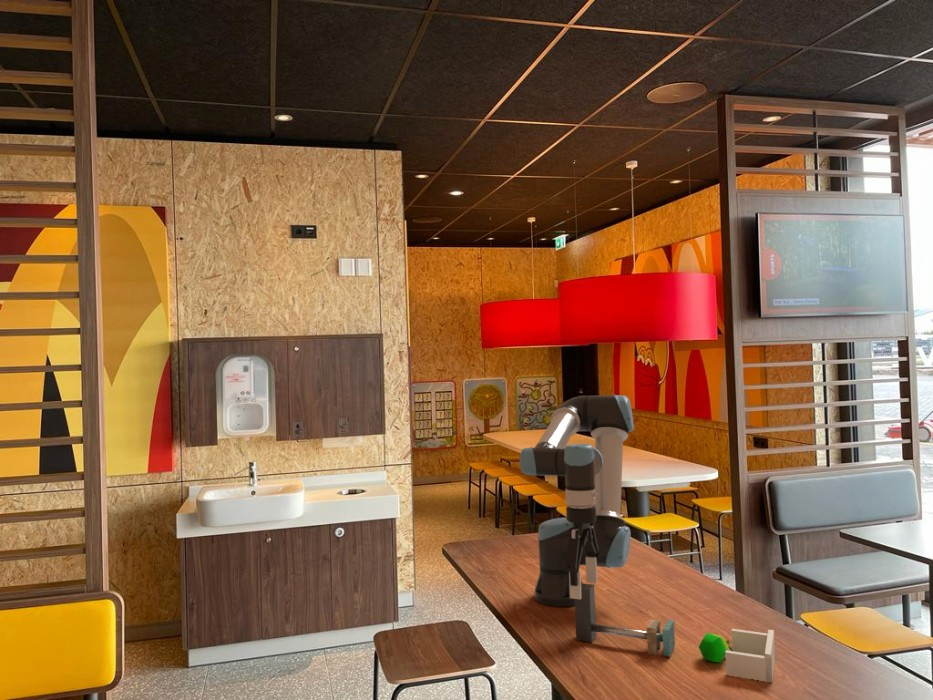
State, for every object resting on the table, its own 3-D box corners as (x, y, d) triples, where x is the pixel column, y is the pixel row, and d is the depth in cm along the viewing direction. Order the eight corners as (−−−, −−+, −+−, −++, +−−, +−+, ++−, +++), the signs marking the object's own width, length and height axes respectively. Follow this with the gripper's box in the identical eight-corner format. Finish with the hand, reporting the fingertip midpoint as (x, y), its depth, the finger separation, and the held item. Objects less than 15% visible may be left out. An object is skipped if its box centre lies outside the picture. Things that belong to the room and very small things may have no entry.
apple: (704, 631, 152) (728, 621, 157) (687, 643, 156) (711, 633, 161) (723, 662, 148) (747, 651, 153) (706, 673, 152) (730, 662, 157)
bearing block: (647, 653, 158) (646, 627, 158) (652, 644, 163) (651, 619, 163) (656, 655, 157) (655, 628, 157) (661, 646, 162) (660, 620, 162)
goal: (726, 675, 146) (725, 647, 146) (732, 649, 159) (731, 624, 159) (772, 683, 142) (770, 654, 142) (775, 656, 155) (773, 630, 155)
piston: (574, 642, 166) (572, 589, 166) (582, 631, 172) (580, 581, 172) (669, 657, 155) (667, 601, 155) (675, 646, 161) (672, 592, 162)
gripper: (580, 516, 156) (583, 607, 155) (608, 498, 178) (611, 578, 177) (550, 514, 159) (553, 603, 159) (581, 496, 182) (584, 574, 181)
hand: (584, 590), depth 168 cm, fingers open, 13 cm apart
